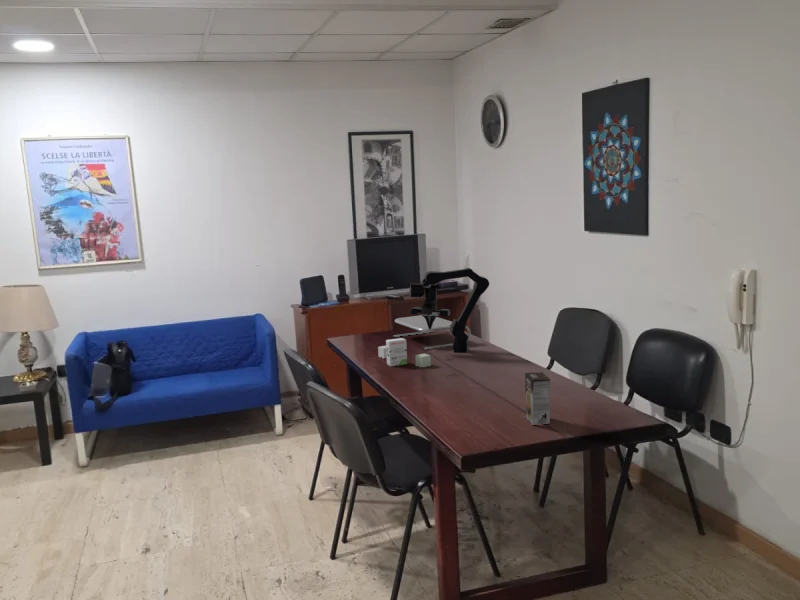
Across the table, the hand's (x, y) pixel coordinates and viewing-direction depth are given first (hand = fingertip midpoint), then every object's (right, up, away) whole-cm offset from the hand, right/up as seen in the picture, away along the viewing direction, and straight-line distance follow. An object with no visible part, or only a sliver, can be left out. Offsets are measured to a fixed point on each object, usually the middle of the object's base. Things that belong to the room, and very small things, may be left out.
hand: (429, 329), depth 341 cm
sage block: (-4, -16, -22) cm, 27 cm away
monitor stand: (+2, -8, +31) cm, 32 cm away
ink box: (-16, -16, -17) cm, 28 cm away
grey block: (-22, -13, -2) cm, 25 cm away
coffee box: (+33, -28, -102) cm, 110 cm away
